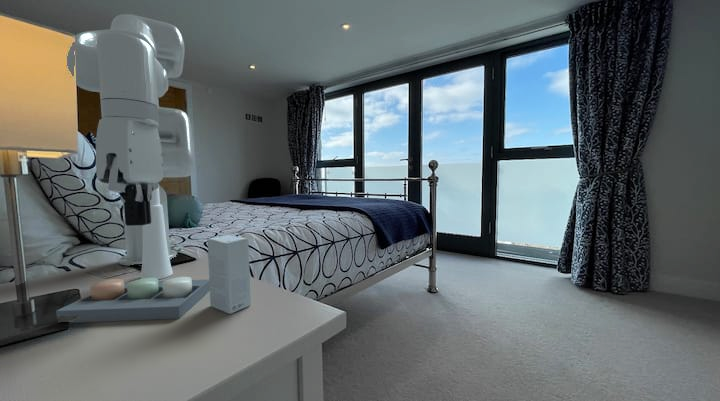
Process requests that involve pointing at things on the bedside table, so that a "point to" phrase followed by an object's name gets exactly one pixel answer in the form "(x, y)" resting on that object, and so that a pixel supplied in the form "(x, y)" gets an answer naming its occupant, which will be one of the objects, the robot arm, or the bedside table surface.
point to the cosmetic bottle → (155, 243)
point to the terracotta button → (107, 290)
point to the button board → (135, 306)
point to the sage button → (142, 288)
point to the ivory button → (177, 287)
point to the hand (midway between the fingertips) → (138, 224)
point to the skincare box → (229, 273)
